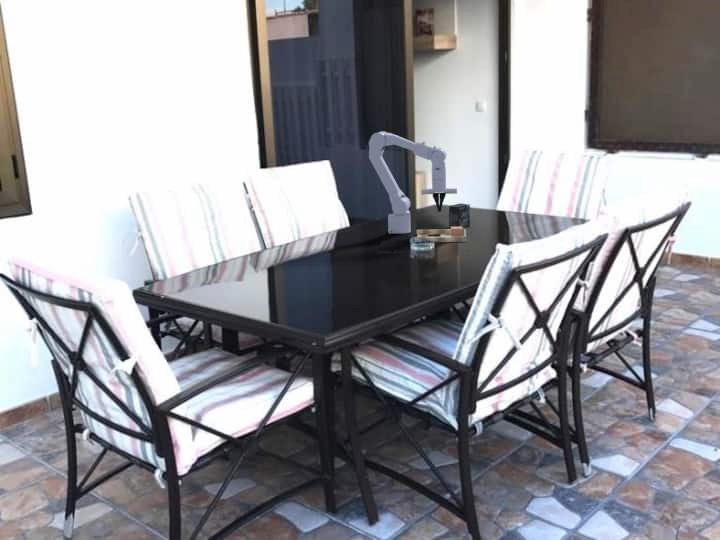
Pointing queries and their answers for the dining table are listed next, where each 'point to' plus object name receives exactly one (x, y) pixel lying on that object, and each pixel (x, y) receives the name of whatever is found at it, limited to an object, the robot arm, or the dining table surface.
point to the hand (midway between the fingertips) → (439, 211)
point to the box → (459, 215)
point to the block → (456, 232)
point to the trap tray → (443, 238)
